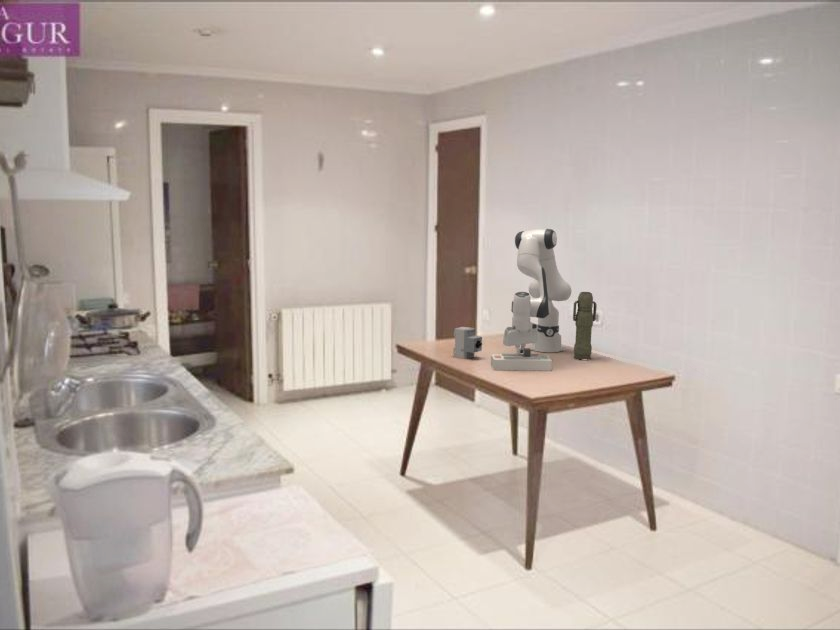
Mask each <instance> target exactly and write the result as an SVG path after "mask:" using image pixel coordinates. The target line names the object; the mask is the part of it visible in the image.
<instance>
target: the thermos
mask: <svg viewBox="0 0 840 630" xmlns="http://www.w3.org/2000/svg"><path fill="white" fill-rule="evenodd" d="M572 320H573V321H574V322H575V343H574V345H573V359H574V358H575V359H574V360H577V359H590V360H591V359H592V357H591V356H592V349H593V346H592V331H593V330H592V329H593V326H594V322H595V321H596V320H597V303H596V301H594V296H593V293H591V291H581V292H579V295H578V297H577V300H575V301H574V303H573V309H572Z"/></svg>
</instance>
